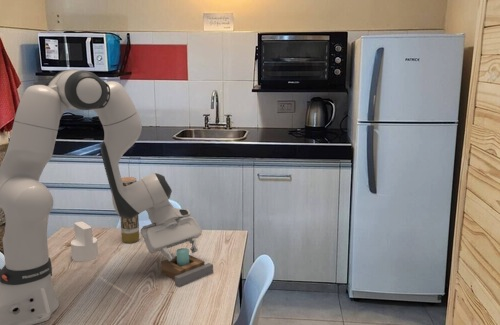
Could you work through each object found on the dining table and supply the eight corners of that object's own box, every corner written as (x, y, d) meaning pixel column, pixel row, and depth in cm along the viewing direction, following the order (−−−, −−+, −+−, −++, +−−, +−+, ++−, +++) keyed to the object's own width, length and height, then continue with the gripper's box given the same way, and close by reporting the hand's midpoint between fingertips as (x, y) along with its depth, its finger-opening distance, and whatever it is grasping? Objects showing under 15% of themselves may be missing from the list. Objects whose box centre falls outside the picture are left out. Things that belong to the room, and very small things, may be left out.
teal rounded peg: (182, 277, 151) (181, 254, 149) (175, 273, 153) (173, 250, 152) (192, 273, 154) (191, 250, 152) (184, 269, 156) (183, 247, 154)
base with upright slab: (68, 256, 170) (65, 224, 167) (92, 249, 176) (89, 219, 173) (77, 264, 163) (75, 231, 161) (102, 257, 169) (100, 225, 167)
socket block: (180, 282, 147) (179, 271, 146) (161, 273, 154) (160, 261, 153) (204, 272, 154) (204, 261, 153) (185, 263, 161) (185, 253, 160)
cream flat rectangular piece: (179, 290, 144) (178, 278, 143) (142, 270, 158) (142, 259, 157) (213, 275, 154) (213, 264, 153) (176, 258, 168) (175, 248, 167)
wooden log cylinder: (134, 244, 181) (131, 181, 176) (118, 243, 182) (114, 180, 177) (142, 238, 187) (139, 177, 182) (126, 236, 189) (123, 176, 183)
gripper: (141, 222, 147) (161, 260, 142) (192, 208, 161) (212, 242, 157) (134, 232, 151) (153, 269, 146) (185, 218, 165) (203, 251, 161)
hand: (184, 255), depth 152 cm, fingers open, 8 cm apart
